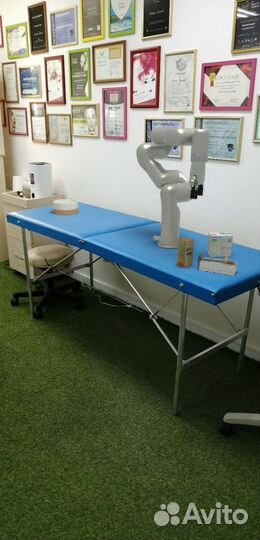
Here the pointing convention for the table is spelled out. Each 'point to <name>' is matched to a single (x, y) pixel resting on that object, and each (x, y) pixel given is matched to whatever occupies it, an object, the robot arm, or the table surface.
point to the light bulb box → (219, 244)
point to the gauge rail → (218, 266)
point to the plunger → (210, 261)
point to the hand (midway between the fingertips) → (196, 197)
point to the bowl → (65, 207)
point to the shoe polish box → (185, 252)
